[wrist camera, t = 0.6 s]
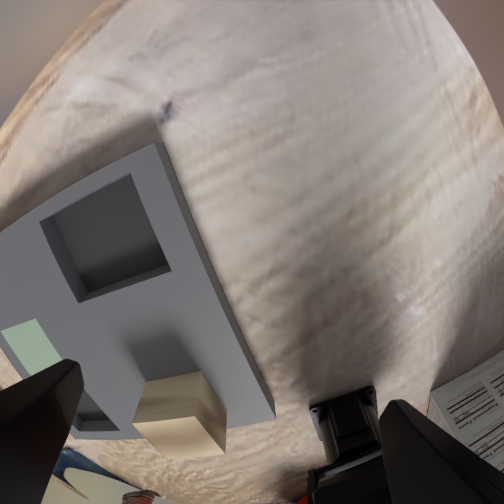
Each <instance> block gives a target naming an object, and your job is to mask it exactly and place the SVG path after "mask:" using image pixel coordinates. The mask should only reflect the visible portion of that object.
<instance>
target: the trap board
mask: <svg viewBox="0 0 504 504" xmlns="http://www.w3.org/2000/svg"><path fill="white" fill-rule="evenodd" d="M0 347H1V349H2V351H3V352H4V354H5V355H6V357H7V358H8V359H9V361H10V362H11V364H12V365H13V367H14V368H15V369H16V371H17V372H18V373H19V375H20V376H21V377H22V379H23V380H24V379H26V378H28V377H30V376H32V375H34V374H36V373H38V372H40V371H42V370H43V369H45V368H47V367H49V366H51V365H53V364H55V363H57V362H59V361H61V360H63V359H66V358H68V359H71V360H74V361H77V362H79V364H80V366H81V371H82V375H83V379H84V390H83V393H82V396H81V399H80V402H79V405H78V408H77V411H76V414H75V417H74V420H73V424H72V427H71V430H70V432H69V433H70V434H71V435H72V436H73V437H74V438H75V439H90V440H120V439H144V438H145V437H144V436H143V435H142V434H141V433H140V432H139V431H138V430H137V429H136V428H135V427H134V425H133V424H132V421H133V418H134V415H135V412H136V409H137V406H138V403H139V400H140V398H141V395H142V392H143V389H144V386H145V383H146V382H148V381H154V380H159V379H165V378H170V377H175V376H180V375H185V374H189V373H194V372H199V371H202V372H203V373H204V375H205V377H206V378H207V380H208V382H209V383H210V385H211V386H212V388H213V390H214V391H215V393H216V394H217V396H218V397H219V399H220V401H221V402H222V404H223V405H224V407H225V408H226V410H227V426H226V429H229V428H234V427H240V426H245V425H250V424H255V423H259V422H264V421H268V420H272V419H276V413H275V403H274V401H273V398H272V396H271V394H270V392H269V390H268V388H267V386H266V384H265V382H264V380H263V378H262V376H261V373H260V371H259V369H258V367H257V365H256V363H255V361H254V359H253V356H252V354H251V352H250V350H249V348H248V346H247V343H246V341H245V339H244V337H243V335H242V332H241V330H240V328H239V326H238V324H237V321H236V319H235V317H234V315H233V312H232V310H231V308H230V306H229V303H228V301H227V299H226V296H225V294H224V292H223V290H222V287H221V285H220V283H219V280H218V278H217V276H216V273H215V271H214V269H213V266H212V264H211V261H210V259H209V257H208V254H207V252H206V250H205V247H204V245H203V242H202V240H201V237H200V235H199V233H198V230H197V228H196V225H195V223H194V220H193V218H192V215H191V213H190V210H189V208H188V205H187V203H186V200H185V198H184V195H183V193H182V190H181V187H180V185H179V182H178V180H177V177H176V175H175V172H174V169H173V167H172V164H171V161H170V159H169V156H168V153H167V151H166V148H165V145H164V143H155V142H154V143H152V144H150V145H148V146H146V147H143V148H141V149H139V150H137V151H135V152H133V153H131V154H129V155H127V156H125V157H123V158H121V159H119V160H117V161H115V162H113V163H111V164H109V165H107V166H105V167H103V168H101V169H100V170H98V171H96V172H94V173H92V174H90V175H89V176H87V177H85V178H83V179H81V180H80V181H78V182H76V183H74V184H73V185H71V186H69V187H68V188H66V189H64V190H63V191H61V192H59V193H58V194H56V195H54V196H53V197H51V198H50V199H48V200H47V201H45V202H43V203H42V204H40V205H39V206H37V207H36V208H34V209H33V210H31V211H30V212H28V213H27V214H25V215H24V216H22V217H21V218H20V219H18V220H17V221H15V222H14V223H12V224H11V225H10V226H8V227H7V228H6V229H4V230H3V231H2V232H0Z"/></svg>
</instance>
